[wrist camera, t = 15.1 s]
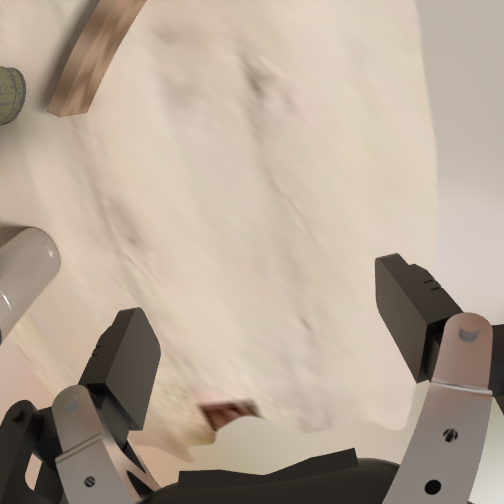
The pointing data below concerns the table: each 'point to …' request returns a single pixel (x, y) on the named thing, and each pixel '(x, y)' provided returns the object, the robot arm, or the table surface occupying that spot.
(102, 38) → the walnut screen
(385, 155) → the table surface
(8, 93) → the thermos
